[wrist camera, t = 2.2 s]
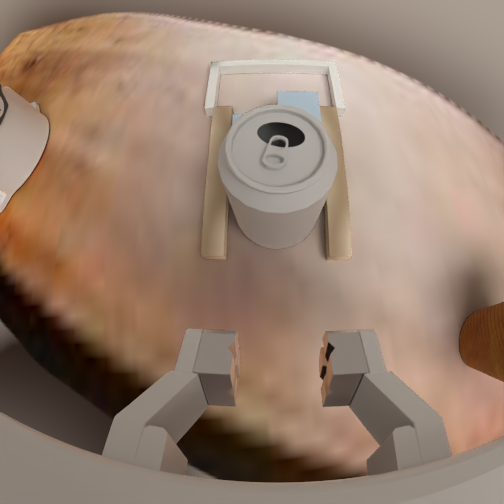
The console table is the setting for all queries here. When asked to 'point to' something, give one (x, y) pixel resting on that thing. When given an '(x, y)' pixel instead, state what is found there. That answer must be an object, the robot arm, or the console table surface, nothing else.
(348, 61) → the console table surface
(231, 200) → the can
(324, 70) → the white u-shaped frame
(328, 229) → the slot rails
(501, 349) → the disposable coffee cup
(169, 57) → the console table surface
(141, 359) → the console table surface
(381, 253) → the console table surface
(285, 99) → the light blue cubic block
